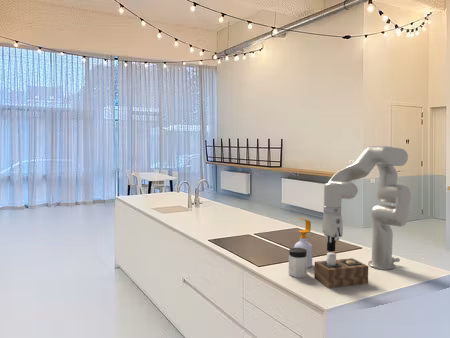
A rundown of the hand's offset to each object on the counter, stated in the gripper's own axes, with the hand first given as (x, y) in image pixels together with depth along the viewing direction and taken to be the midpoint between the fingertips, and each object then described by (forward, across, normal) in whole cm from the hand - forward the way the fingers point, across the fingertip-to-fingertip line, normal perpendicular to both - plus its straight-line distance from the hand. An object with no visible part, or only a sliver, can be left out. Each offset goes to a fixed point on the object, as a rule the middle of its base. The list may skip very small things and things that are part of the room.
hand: (331, 250), depth 169 cm
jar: (+15, +13, +10) cm, 22 cm away
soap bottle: (+14, +25, 0) cm, 29 cm away
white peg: (+9, 0, 0) cm, 9 cm away
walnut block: (+14, 0, -6) cm, 15 cm away
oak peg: (+14, 0, -10) cm, 17 cm away
